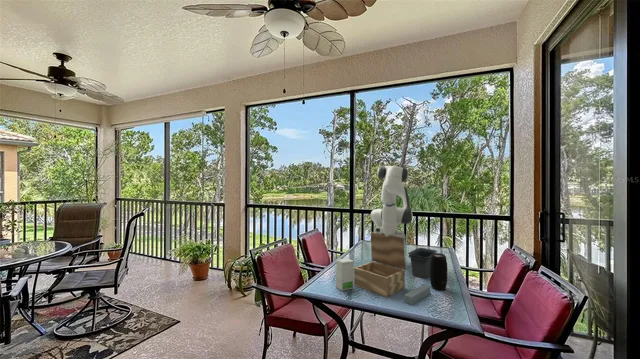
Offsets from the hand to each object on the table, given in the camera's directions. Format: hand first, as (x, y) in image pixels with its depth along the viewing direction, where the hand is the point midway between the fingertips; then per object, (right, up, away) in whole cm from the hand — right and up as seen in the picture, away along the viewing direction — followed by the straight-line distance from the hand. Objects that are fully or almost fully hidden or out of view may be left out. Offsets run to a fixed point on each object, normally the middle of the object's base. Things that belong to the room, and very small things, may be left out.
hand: (389, 253), depth 161 cm
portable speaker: (+26, -18, -8) cm, 32 cm away
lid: (-2, +2, -1) cm, 3 cm away
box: (-7, -17, -6) cm, 20 cm away
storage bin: (+25, -18, +16) cm, 35 cm away
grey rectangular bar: (+10, -18, -20) cm, 29 cm away
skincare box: (-27, -17, -8) cm, 33 cm away
